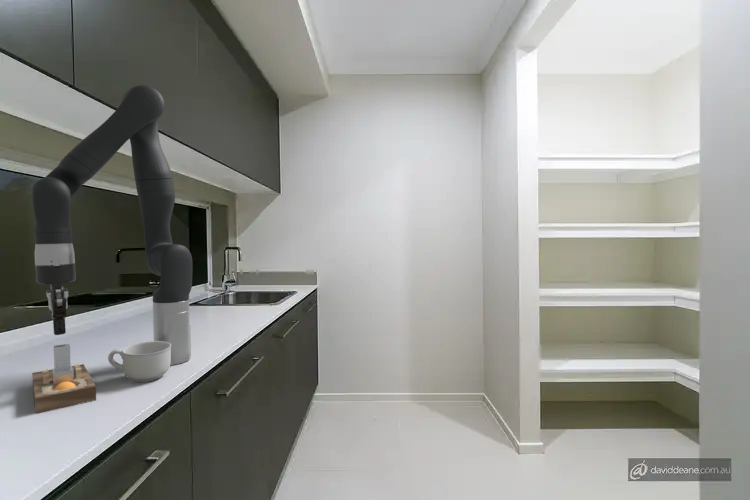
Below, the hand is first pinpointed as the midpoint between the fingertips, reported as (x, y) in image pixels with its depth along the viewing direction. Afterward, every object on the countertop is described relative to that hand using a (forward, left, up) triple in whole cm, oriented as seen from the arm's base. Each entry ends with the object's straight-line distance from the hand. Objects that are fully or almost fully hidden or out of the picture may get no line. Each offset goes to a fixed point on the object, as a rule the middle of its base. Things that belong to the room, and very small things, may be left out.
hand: (59, 334), depth 99 cm
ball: (+10, +10, -10) cm, 17 cm away
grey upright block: (+7, +7, -9) cm, 13 cm away
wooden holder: (+6, +6, -12) cm, 15 cm away
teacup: (-4, +17, -12) cm, 22 cm away
